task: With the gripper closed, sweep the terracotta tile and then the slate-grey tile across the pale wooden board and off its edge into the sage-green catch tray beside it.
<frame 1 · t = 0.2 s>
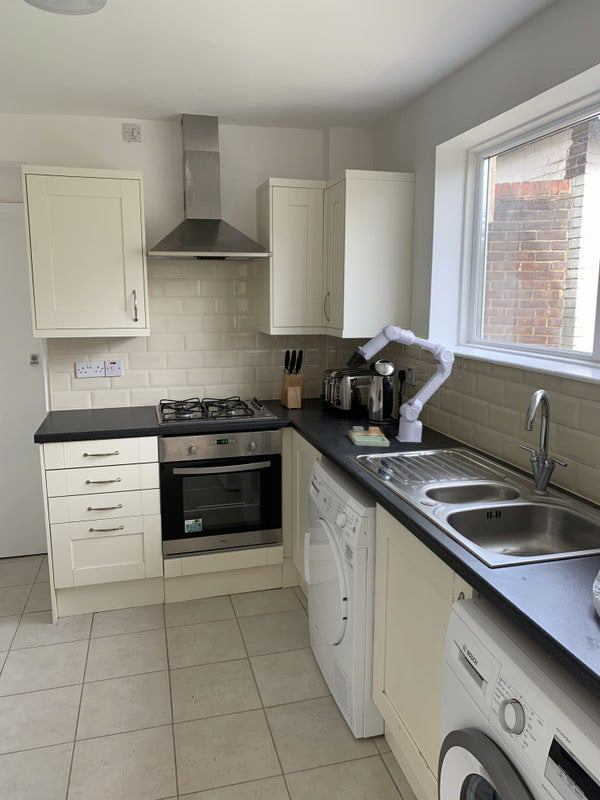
hand: (348, 367, 259), 31 cm above the worktop, tool tilted 45°, fingers open, 7 cm apart
board: (366, 438, 264), on the worktop
terracotta tile: (373, 432, 265), point 2 cm above the worktop, touching board
catch tray: (370, 443, 255), on the worktop
grey tile: (358, 431, 264), point 2 cm above the worktop, touching board
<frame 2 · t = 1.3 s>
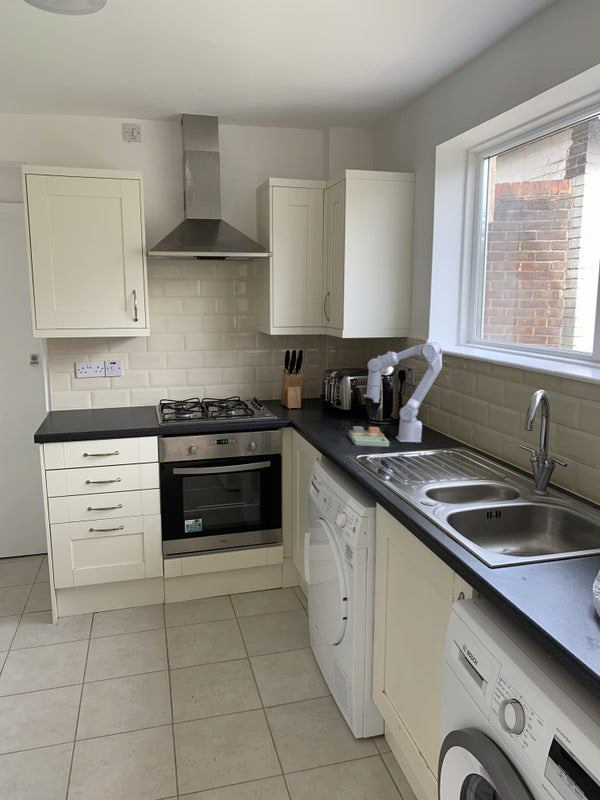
hand: (371, 415, 271), 9 cm above the worktop, tool pointing down, fingers open, 7 cm apart
nothing on the worktop moved.
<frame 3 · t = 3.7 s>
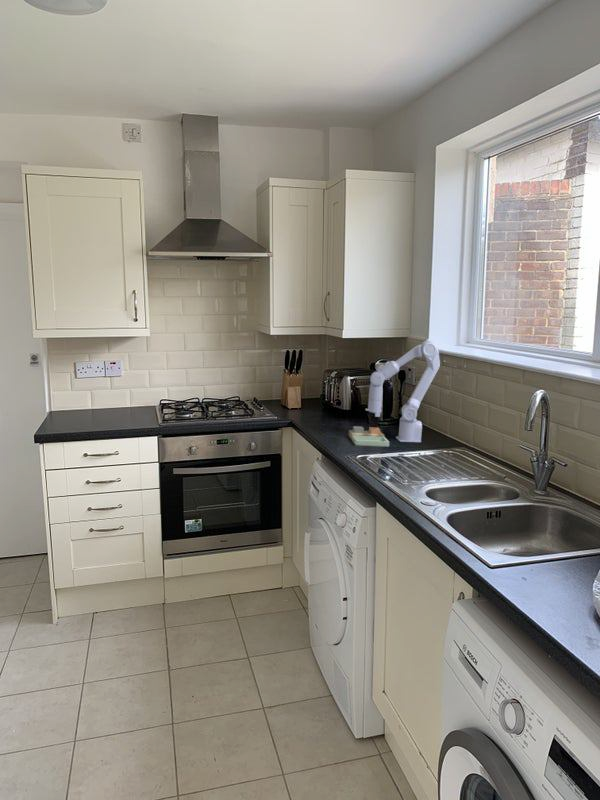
hand: (373, 429, 267), 3 cm above the worktop, tool pointing down, fingers closed
terracotta tile: (374, 432, 264), point 3 cm above the worktop, touching gripper
everything else where it was.
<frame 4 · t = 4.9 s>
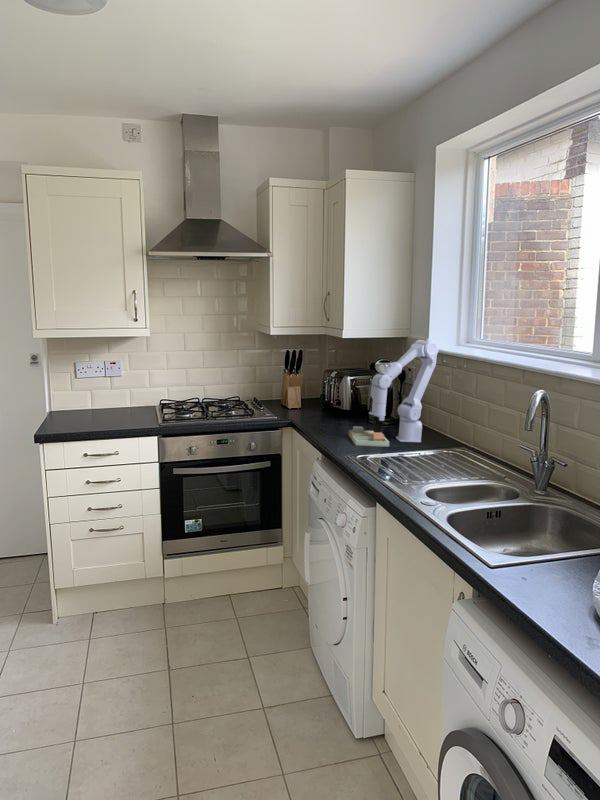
hand: (376, 433, 259), 3 cm above the worktop, tool pointing down, fingers closed
terracotta tile: (377, 439, 258), point 1 cm above the worktop, tilted 27°, touching gripper
everything else where it was.
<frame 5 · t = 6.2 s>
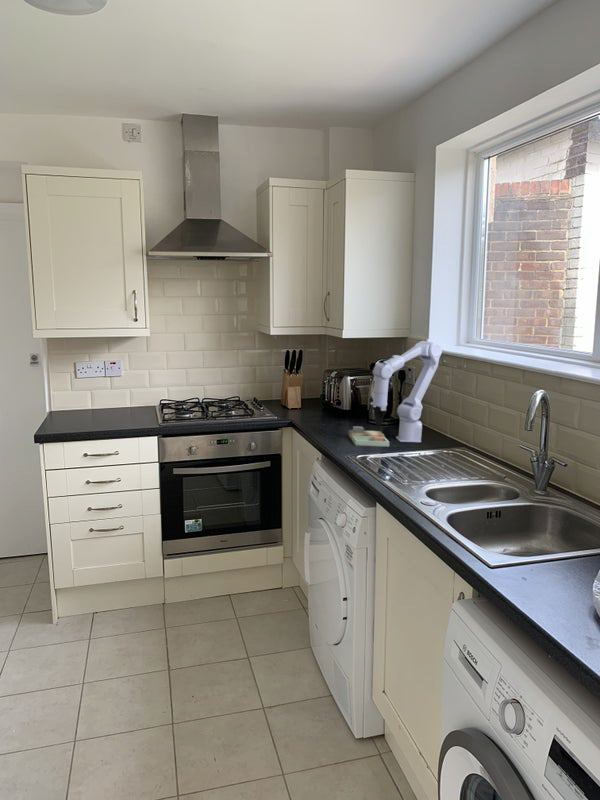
hand: (378, 424, 257), 8 cm above the worktop, tool pointing down, fingers closed
terracotta tile: (377, 441, 257), resting on catch tray
everything else where it was.
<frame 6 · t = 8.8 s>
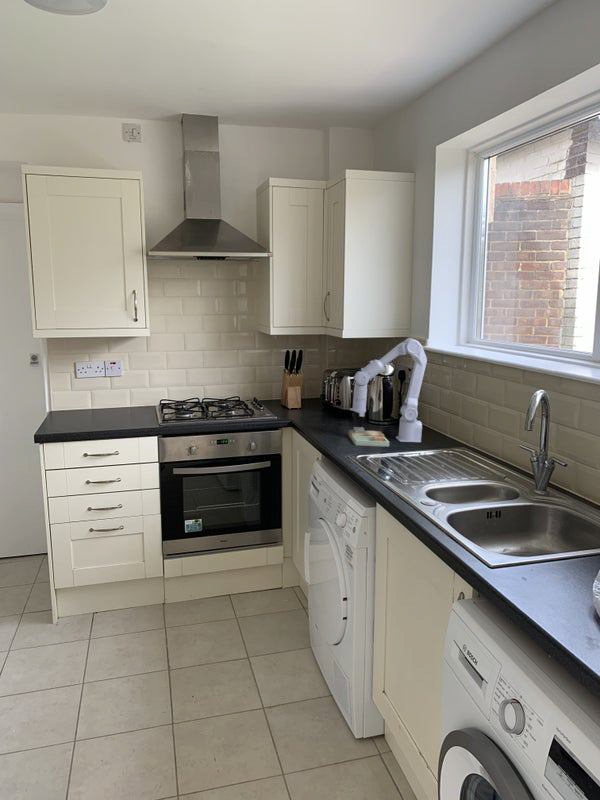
hand: (357, 429, 266), 3 cm above the worktop, tool pointing down, fingers closed
grey tile: (358, 432, 263), point 3 cm above the worktop, touching board, gripper
everything else where it was.
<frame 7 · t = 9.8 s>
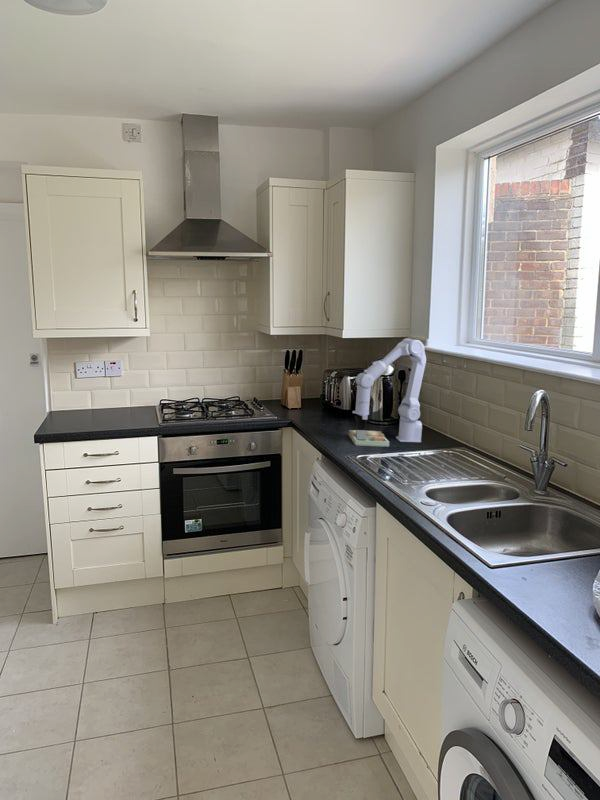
hand: (360, 432, 259), 3 cm above the worktop, tool pointing down, fingers closed
grey tile: (360, 436, 258), point 2 cm above the worktop, tilted 58°, touching catch tray, gripper
everything else where it was.
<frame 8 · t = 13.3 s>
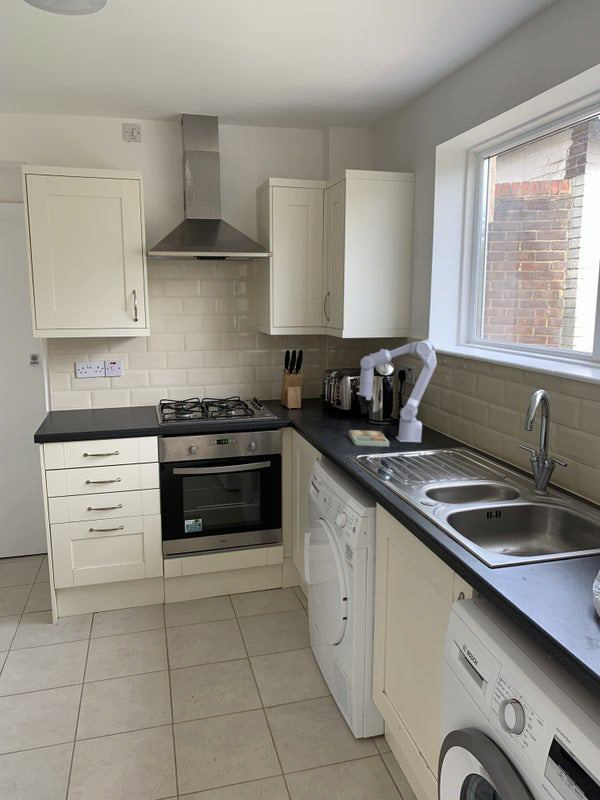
hand: (364, 413, 270), 9 cm above the worktop, tool pointing down, fingers closed
grey tile: (362, 438, 253), point 2 cm above the worktop, tilted 180°, touching catch tray
everything else where it was.
at the end: terracotta tile inside the target area on the catch tray (3.7 cm from its centre), point 0.5 cm above the catch tray's base; grey tile inside the target area on the catch tray (3.8 cm from its centre), point 2.5 cm above the catch tray's base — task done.
